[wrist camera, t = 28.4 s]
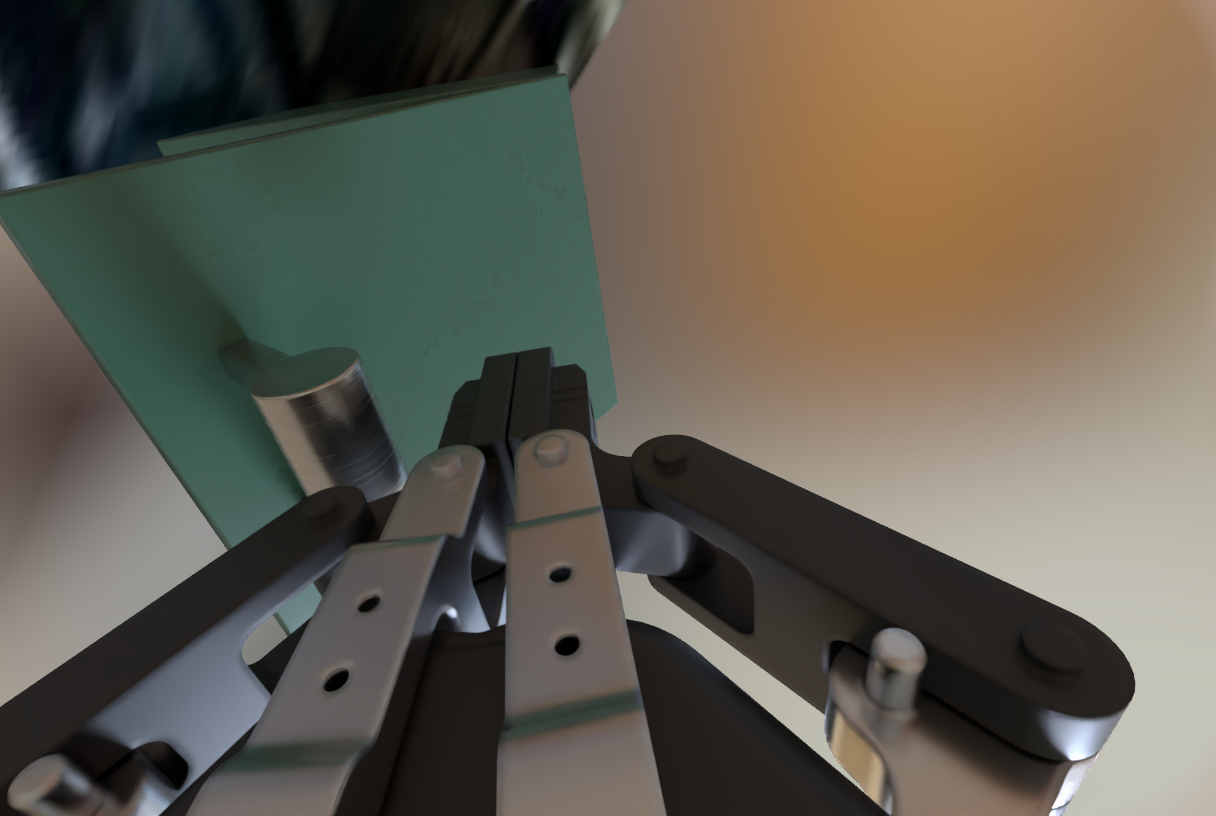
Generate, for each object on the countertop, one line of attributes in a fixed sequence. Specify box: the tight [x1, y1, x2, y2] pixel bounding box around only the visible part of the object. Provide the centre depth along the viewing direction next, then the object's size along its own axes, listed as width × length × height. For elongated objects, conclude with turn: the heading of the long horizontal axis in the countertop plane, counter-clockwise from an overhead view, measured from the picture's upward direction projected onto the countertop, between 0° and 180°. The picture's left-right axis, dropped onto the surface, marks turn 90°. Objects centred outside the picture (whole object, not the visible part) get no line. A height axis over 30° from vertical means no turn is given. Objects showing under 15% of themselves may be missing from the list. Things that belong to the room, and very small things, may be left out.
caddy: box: [157, 65, 560, 157], centre depth 25 cm, size 13×12×11 cm
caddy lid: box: [0, 73, 618, 636], centre depth 15 cm, size 13×12×5 cm
